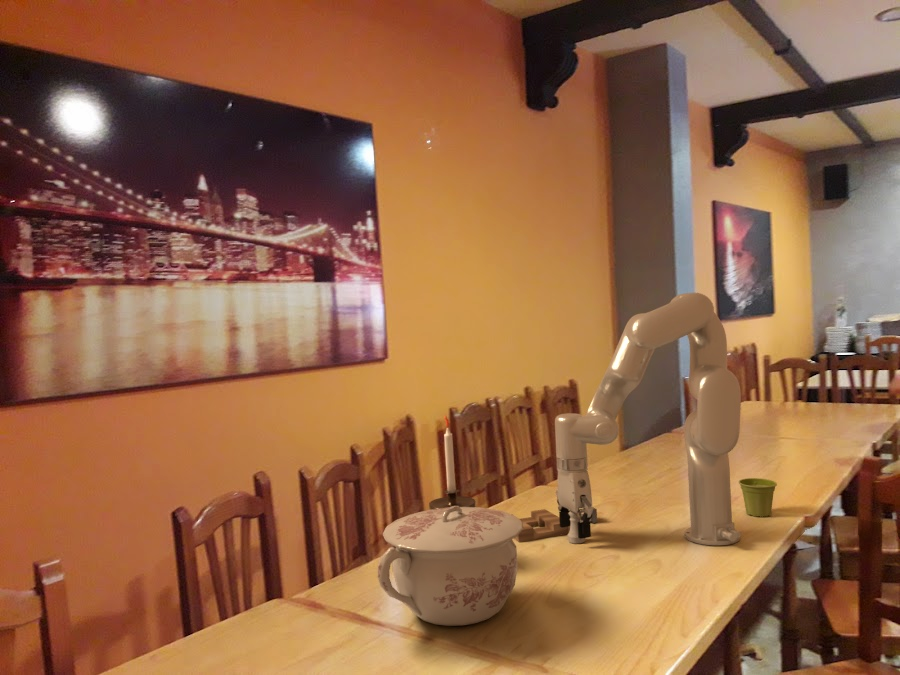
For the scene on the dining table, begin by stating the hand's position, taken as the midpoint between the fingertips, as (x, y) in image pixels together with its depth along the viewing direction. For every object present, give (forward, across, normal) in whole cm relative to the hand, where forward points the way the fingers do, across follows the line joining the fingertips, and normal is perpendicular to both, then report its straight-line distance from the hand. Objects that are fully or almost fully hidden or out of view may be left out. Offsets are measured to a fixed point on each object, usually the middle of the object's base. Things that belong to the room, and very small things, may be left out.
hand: (575, 531), depth 172 cm
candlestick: (+3, -1, +32) cm, 32 cm away
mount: (+2, +13, +6) cm, 14 cm away
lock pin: (+2, +13, -6) cm, 14 cm away
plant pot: (+2, -3, -53) cm, 53 cm away
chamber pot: (+3, -26, +40) cm, 48 cm away
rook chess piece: (+3, 0, 0) cm, 3 cm away
